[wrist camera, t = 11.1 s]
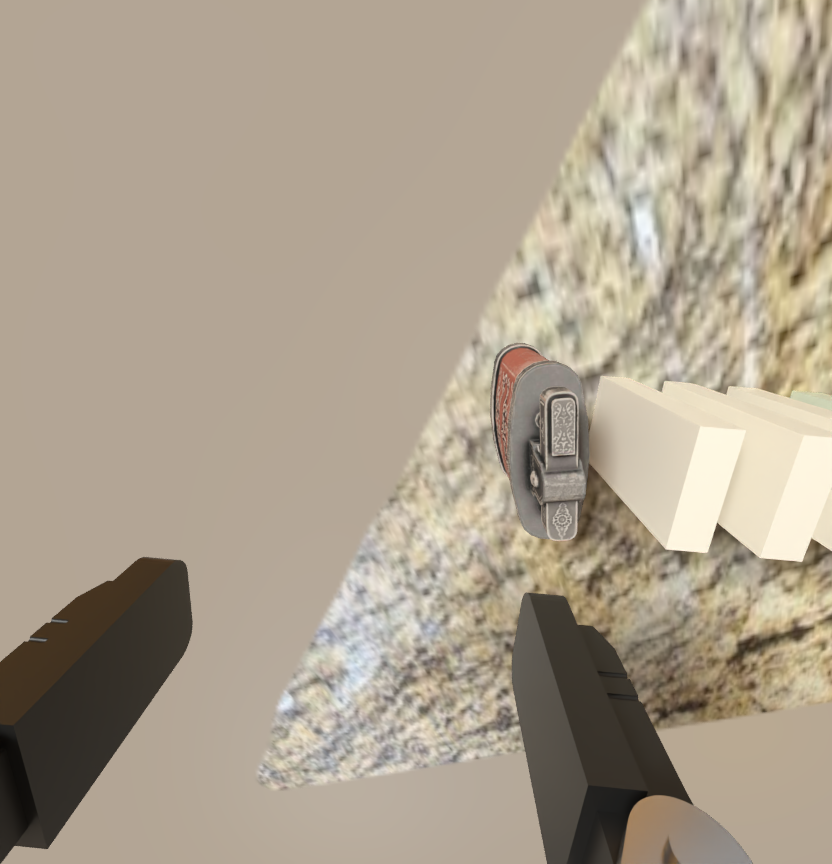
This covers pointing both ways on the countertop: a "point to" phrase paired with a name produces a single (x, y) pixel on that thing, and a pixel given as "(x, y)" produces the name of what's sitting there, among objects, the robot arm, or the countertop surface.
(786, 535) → the domino
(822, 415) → the domino
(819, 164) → the countertop surface
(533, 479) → the lighter
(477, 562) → the countertop surface
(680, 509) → the domino
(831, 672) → the countertop surface
